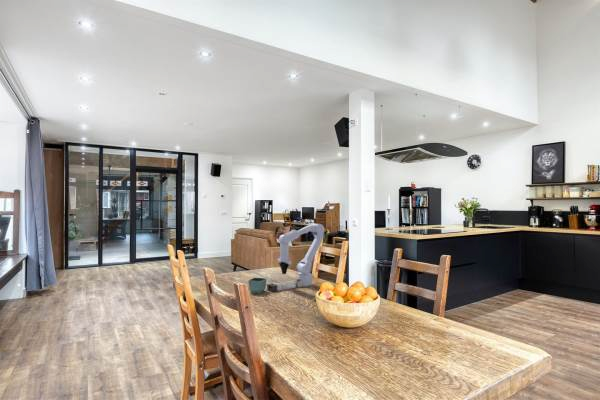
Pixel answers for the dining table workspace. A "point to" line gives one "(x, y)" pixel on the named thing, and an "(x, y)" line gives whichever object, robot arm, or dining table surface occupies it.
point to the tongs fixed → (297, 282)
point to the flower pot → (257, 285)
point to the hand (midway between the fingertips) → (284, 273)
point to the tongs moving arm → (282, 286)
